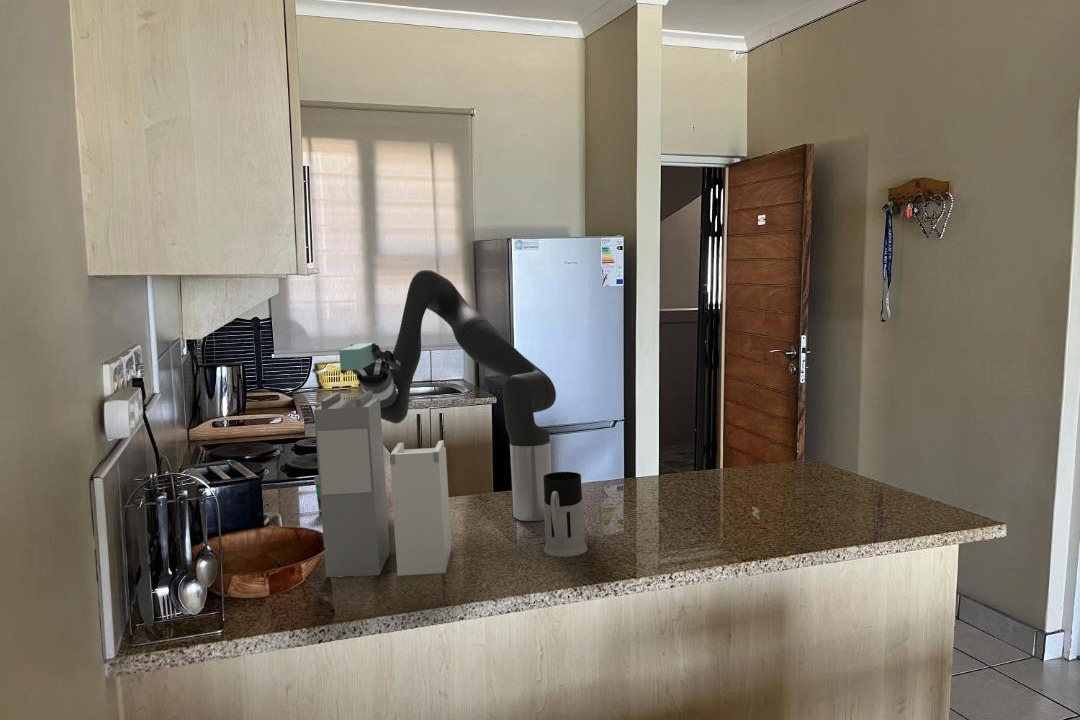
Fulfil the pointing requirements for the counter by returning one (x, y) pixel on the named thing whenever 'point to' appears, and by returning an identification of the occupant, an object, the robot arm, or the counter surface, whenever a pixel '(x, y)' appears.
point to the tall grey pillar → (352, 485)
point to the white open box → (420, 509)
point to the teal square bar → (356, 356)
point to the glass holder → (564, 514)
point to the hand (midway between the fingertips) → (362, 347)
